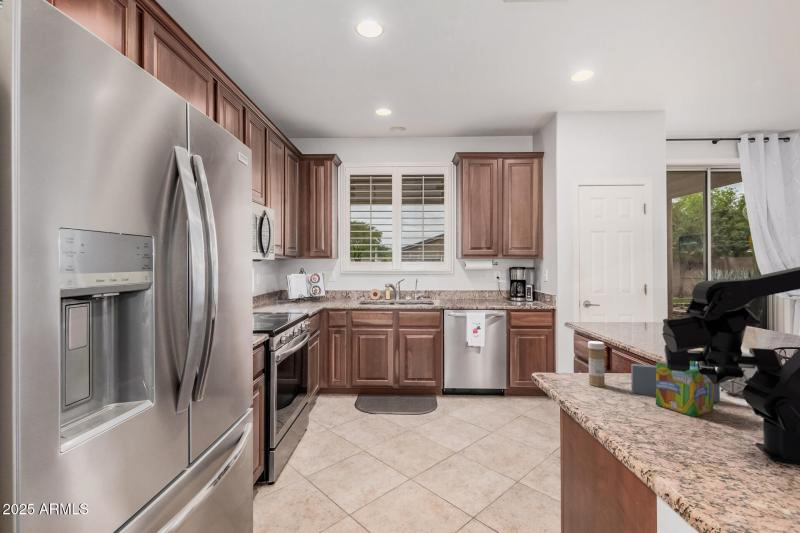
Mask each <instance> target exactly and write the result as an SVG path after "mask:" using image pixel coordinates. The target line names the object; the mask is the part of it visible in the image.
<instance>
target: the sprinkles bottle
mask: <svg viewBox="0 0 800 533" xmlns="http://www.w3.org/2000/svg"><path fill="white" fill-rule="evenodd" d="M587 348H588V376H589V377H588V384H589V385H590V386H593V387H601V388H602V387H605V386H606V384H605V375H606V374H605V373H606V371H605V348H606V347H605V342H603V341H599V340H590V341H589V340H588V342H587Z"/></svg>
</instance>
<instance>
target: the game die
mask: <svg viewBox="0 0 800 533" xmlns="http://www.w3.org/2000/svg"><path fill="white" fill-rule="evenodd" d="M742 371H743V374H744V372H745V370H742ZM749 379H750V378H748V377H747V376H746V375H745V374H744V376H743V378H735V379H731V380H728V381H725V382H722V383H720V392H724V391H725V392H727V393H729V394H731V396H732V398H734V397H735V395H736V394H742V396H744V394H743V389H744V387H745V386H746V385H747V384H746V383H744V381H747V380H749Z"/></svg>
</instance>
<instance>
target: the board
mask: <svg viewBox="0 0 800 533" xmlns="http://www.w3.org/2000/svg"><path fill="white" fill-rule="evenodd" d="M630 367H631V368H630V370H631V371H630V372H631V373H630V374H631V375H630V376H631V377H630V378H631V380H630V381H631V382H630V383H631V392H632V394H636V393H637V394H638V395H648V396H655V397H656V365H652V364H640V363H639V364H638V363H631V365H630ZM719 402H720V403H721V387H720V384H714V401H713V403H719Z"/></svg>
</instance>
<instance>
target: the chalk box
mask: <svg viewBox="0 0 800 533" xmlns="http://www.w3.org/2000/svg"><path fill="white" fill-rule="evenodd" d="M655 364H656V365H655V366H656V396H655V406H659V407H662V408H666V409H668V410H671V411H673V412H677V413H681V414H683V415H686V416H689V417H692V418H695V417H698V416H702V415H705V414H708V413H712V412H714V402H713V401H714V384H713V383H712V382H711V380H710V379H709V378H708V377H707V376H706V375H702V374H700V373H699V370H698V366H697V361H690V370H687V371H674V370H669V369H668V368H667V364H666V360H662V361H658V362H656V363H655Z"/></svg>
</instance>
